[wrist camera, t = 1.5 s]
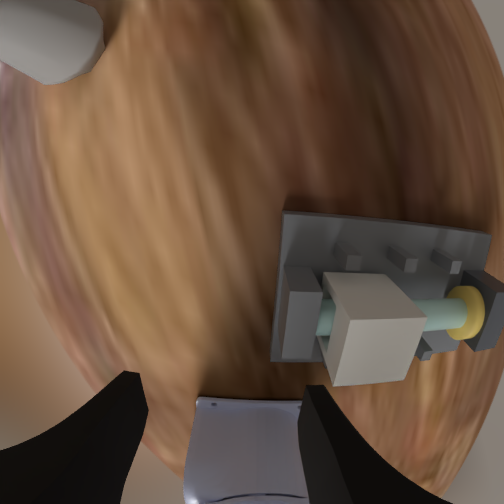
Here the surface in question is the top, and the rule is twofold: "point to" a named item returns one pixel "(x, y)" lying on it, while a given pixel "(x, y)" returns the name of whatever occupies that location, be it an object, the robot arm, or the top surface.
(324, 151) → the top surface
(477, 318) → the yellow round puck
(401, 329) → the sleeve
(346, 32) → the top surface
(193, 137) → the top surface
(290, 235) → the rod slider bracket
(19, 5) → the salt shaker
